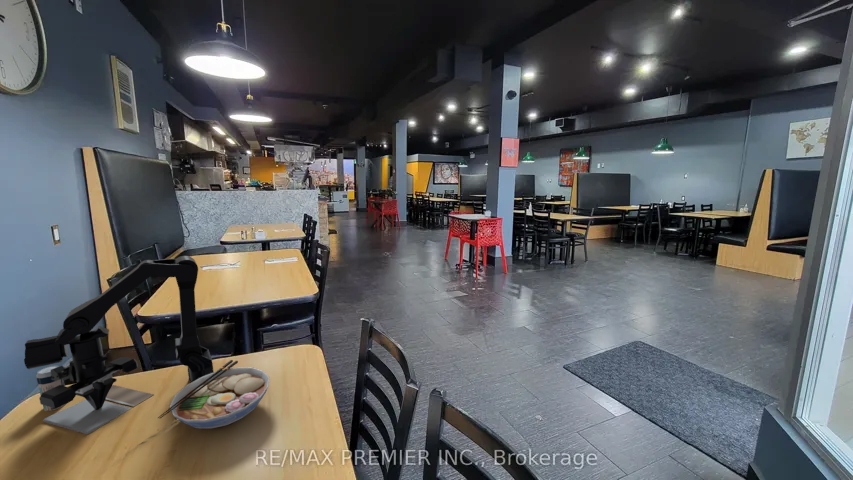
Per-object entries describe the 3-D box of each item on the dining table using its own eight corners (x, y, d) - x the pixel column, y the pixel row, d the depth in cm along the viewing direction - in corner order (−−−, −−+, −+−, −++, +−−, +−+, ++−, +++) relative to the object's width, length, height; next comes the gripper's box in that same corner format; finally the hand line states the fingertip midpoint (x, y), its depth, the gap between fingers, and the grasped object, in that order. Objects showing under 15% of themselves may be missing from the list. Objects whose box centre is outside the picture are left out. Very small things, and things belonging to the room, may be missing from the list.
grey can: (74, 404, 98) (66, 365, 95) (55, 415, 93) (45, 375, 91) (59, 403, 98) (50, 364, 96) (39, 414, 94) (29, 373, 91)
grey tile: (131, 412, 94) (131, 408, 94) (87, 436, 85) (87, 431, 85) (90, 401, 99) (89, 397, 99) (43, 423, 89) (43, 419, 89)
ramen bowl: (227, 459, 79) (223, 427, 78) (145, 443, 84) (140, 413, 82) (290, 392, 103) (288, 367, 102) (224, 382, 108) (221, 358, 106)
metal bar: (154, 398, 100) (153, 394, 100) (133, 411, 95) (133, 406, 95) (114, 389, 104) (113, 384, 104) (92, 400, 99) (91, 396, 99)
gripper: (106, 335, 102) (115, 383, 105) (18, 369, 84) (32, 426, 87) (134, 340, 99) (143, 390, 102) (49, 377, 81) (62, 435, 84)
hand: (98, 408), depth 94 cm, fingers closed
